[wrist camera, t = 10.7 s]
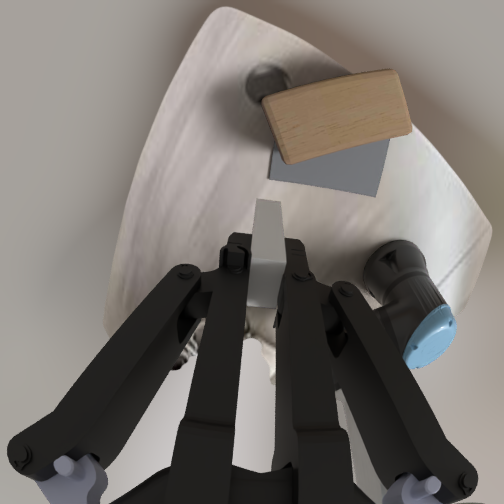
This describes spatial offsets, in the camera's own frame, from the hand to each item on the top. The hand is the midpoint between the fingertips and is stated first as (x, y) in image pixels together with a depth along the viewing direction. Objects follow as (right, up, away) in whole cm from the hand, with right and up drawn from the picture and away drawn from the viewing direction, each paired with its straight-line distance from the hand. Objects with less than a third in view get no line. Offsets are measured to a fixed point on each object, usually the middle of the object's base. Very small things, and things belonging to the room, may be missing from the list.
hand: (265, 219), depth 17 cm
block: (+2, +15, +19) cm, 25 cm away
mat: (+13, +15, +25) cm, 32 cm away
